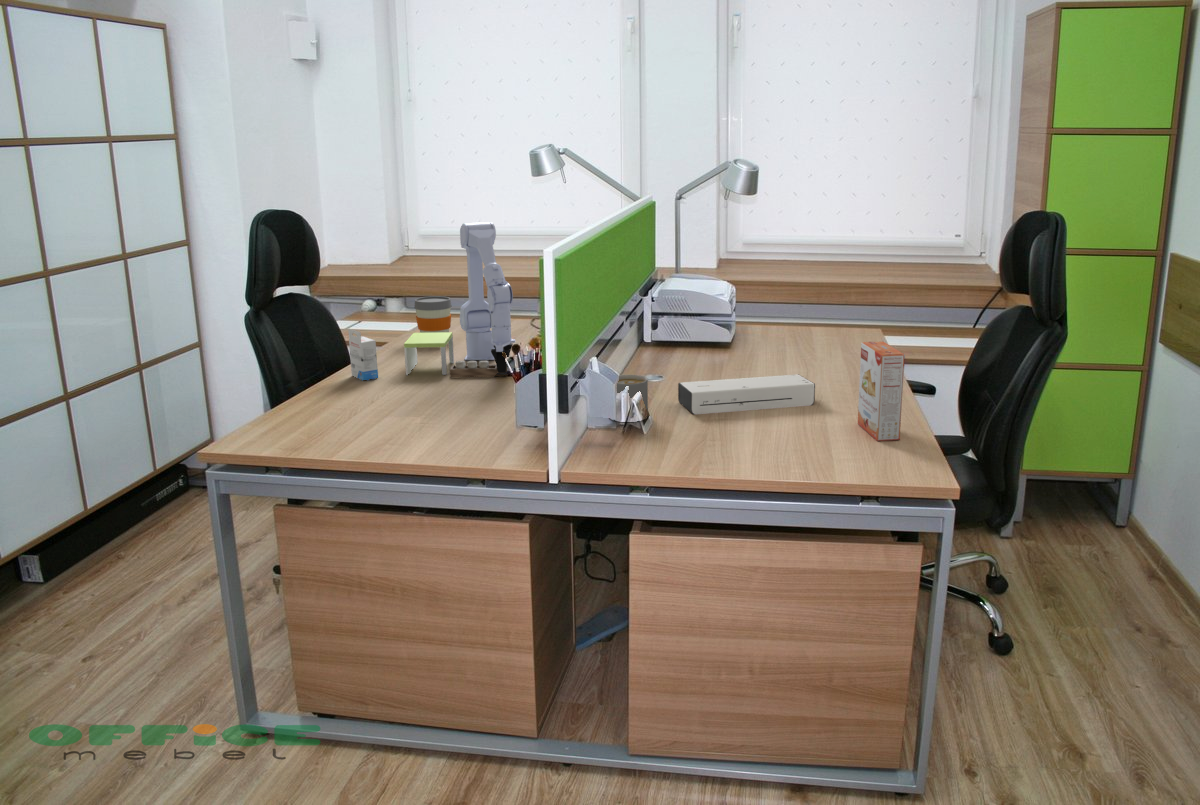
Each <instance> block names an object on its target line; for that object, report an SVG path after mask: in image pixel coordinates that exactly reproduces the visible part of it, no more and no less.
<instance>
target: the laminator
mask: <svg viewBox="0 0 1200 805" xmlns="http://www.w3.org/2000/svg"><path fill="white" fill-rule="evenodd" d="M677 387H678V388H677V390H678V391H677V392H678V394H677V395H678V396H677V399H678V402H679V404H681V405H682V406H683V407H685V409H687V410H688V411H689V412H690V413H691V415H702V414H703V415H705V414H707V415H708V414H717V413H718V414H719V413H729V412H730V413H731V412H742V411H755V410H770V409H780V408H781V409H783V408H795V407H796V408H797V407H807V406H813V405H814V404H815V396H816V383H815V382H813V381H811V380H809V379H808V378H806V377H804V376H802V375H800V374H797V373H796V374H785V375H769V376H758V377H756V376H755V377H753V376H752V377H744V378H742V377H741V378H726V379H714V380H713V379H712V380H698V381H697V380H695V381H685V382H684V381H683V382H678V385H677Z"/></svg>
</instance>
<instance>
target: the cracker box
mask: <svg viewBox="0 0 1200 805" xmlns="http://www.w3.org/2000/svg"><path fill="white" fill-rule="evenodd" d="M860 344H861V345H860V363H859V364H860V367H859V385H858V387H859V388H858V406H857V407H858V408H857V424H858V425H859V426H860V427H861V428H862V429H863V430H864V431H866V433H868V435H870V436H871V437H873V439H874V440H876V442H885V441H886V442H887V441H900V439H901V425H902V410H903V409H902V407H903V394H904V391H903V388H904V377H905V373H904V372H905V360H906V354H905V353H902V351H900V350H898V349H896V348H895V347H893V346H892V345H890V344H889V343H887V342H885V341H862V342H860Z"/></svg>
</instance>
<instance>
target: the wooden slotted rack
mask: <svg viewBox="0 0 1200 805" xmlns="http://www.w3.org/2000/svg"><path fill="white" fill-rule="evenodd" d="M477 361H478V362H477ZM489 361H490V360H467V363H466V360H458V361H455V365H454V364H453V365H451V366H450V368H449V378H450V377H465V378H495V377H494V376H495V375H496V374H497V373H498V370H497V366H496V364H490V363H489ZM506 372H507V367H506Z"/></svg>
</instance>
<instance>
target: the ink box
mask: <svg viewBox="0 0 1200 805" xmlns="http://www.w3.org/2000/svg"><path fill="white" fill-rule="evenodd" d="M353 334H354V335H353ZM376 341H377V340H375V339H372V338H370V337H369V338H368V337H367V336H362V333H361V331H357V330H355V329H351V328H348V344H349V354H350V366H351V367H350V368H351V369H350V370H351V377H352V376H354V377H353V378H355V377H356V379H358V378H359V379H358V380H360V379H361V380H360V381H363V380H367V381H370V380H369V379H373V380H376V379H375V378H378V379H379V371H378V370H379V369H378V356H377V345H376V344H377V343H376Z"/></svg>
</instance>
